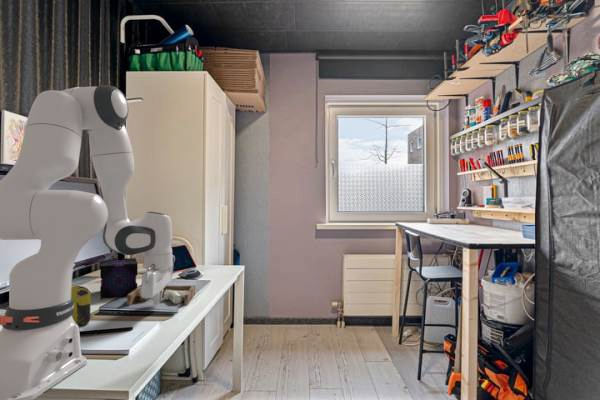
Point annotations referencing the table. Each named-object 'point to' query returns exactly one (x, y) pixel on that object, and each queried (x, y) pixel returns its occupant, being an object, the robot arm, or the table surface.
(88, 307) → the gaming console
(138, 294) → the brass bushing
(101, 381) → the table surface
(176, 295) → the pipe fitting
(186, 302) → the corral
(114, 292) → the energy cube
